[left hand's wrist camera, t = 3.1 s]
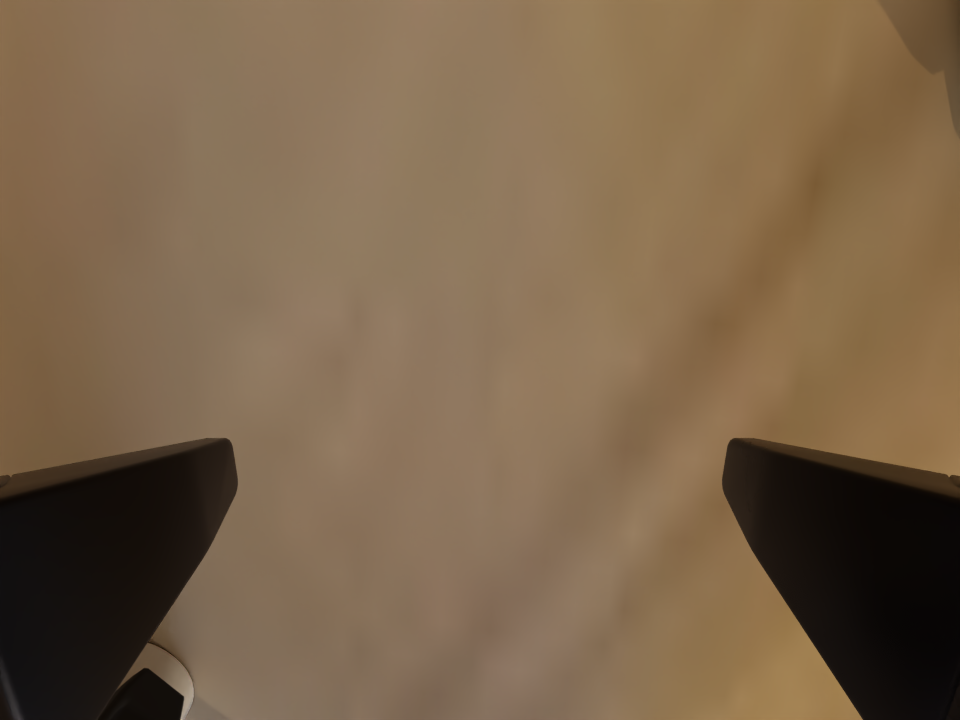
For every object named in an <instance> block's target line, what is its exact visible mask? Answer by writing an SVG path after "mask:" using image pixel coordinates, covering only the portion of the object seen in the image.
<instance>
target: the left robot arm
mask: <svg viewBox="0 0 960 720" xmlns="http://www.w3.org/2000/svg"><path fill="white" fill-rule="evenodd" d="M237 486H238V478H237V471H236V465H235V458H234V452H233V446H232V444H231V442H230V440H228V439H227V438H205V439H200V440H195V441H189V442H184V443H179V444H173V445H168V446H163V447H157V448H152V449H147V450H141V451H136V452H131V453H125V454H120V455H115V456H110V457H104V458H99V459H94V460H88V461H83V462H78V463H72V464H67V465H62V466H56V467H51V468H46V469H40V470H35V471H30V472H24V473H19V474H14V475H12V477H10V476H9V475H4V476H0V720H97V719H98V717H99V716H100V714H101V713H102V711H103V710H104V708H105V707H106V705H107V704H108V702H109V701H110V699H111V698H112V696H113V695H114V693H115V692H116V690H117V689H118V687H119V685H120V684H121V682H122V681H123V679H124V678H125V676H126V675H127V673H128V672H129V670H130V669H131V667H132V666H133V664H134V663H135V661H136V660H137V658H138V657H139V655H140V654H141V652H142V650H143V649H144V647H145V646H146V644H147V643H148V641H149V640H150V638H151V637H152V635H153V634H154V632H155V631H156V629H157V628H158V626H159V625H160V623H161V622H162V620H163V619H164V617H165V616H166V614H167V612H168V611H169V609H170V608H171V606H172V605H173V603H174V602H175V600H176V599H177V597H178V596H179V594H180V593H181V591H182V590H183V588H184V587H185V585H186V584H187V582H188V581H189V579H190V577H191V576H192V574H193V573H194V571H195V570H196V568H197V567H198V565H199V564H200V562H201V561H202V559H203V558H204V556H205V554H206V553H207V551H208V549H209V547H210V546H211V544H212V542H213V540H214V538H215V536H216V534H217V532H218V530H219V528H220V526H221V523H222V521H223V519H224V517H225V515H226V513H227V511H228V509H229V507H230V505H231V503H232V501H233V499H234V497H235V494H236V491H237ZM722 486H723V491H724V494H725V497H726V499H727V501H728V503H729V505H730V507H731V509H732V511H733V513H734V515H735V517H736V519H737V521H738V523H739V526H740V528H741V530H742V532H743V534H744V536H745V538H746V540H747V542H748V544H749V546H750V547H751V549H752V551H753V553H754V554H755V556H756V558H757V559H758V561H759V562H760V564H761V565H762V567H763V568H764V570H765V571H766V573H767V574H768V576H769V577H770V579H771V581H772V582H773V584H774V585H775V587H776V588H777V590H778V591H779V593H780V594H781V596H782V597H783V599H784V600H785V602H786V603H787V605H788V606H789V608H790V609H791V611H792V612H793V614H794V615H795V617H796V618H797V620H798V622H799V623H800V625H801V626H802V628H803V629H804V631H805V632H806V634H807V635H808V637H809V638H810V640H811V641H812V643H813V644H814V646H815V647H816V649H817V650H818V652H819V653H820V655H821V656H822V658H823V660H824V661H825V663H826V664H827V666H828V667H829V669H830V670H831V672H832V673H833V675H834V676H835V678H836V679H837V681H838V682H839V684H840V685H841V687H842V688H843V690H844V691H845V693H846V695H847V696H848V698H849V699H850V701H851V702H852V704H853V705H854V707H855V708H856V710H857V711H858V713H859V714H860V716H861V717H862V719H863V720H960V476H956V475H951V476H950V477H948V475H946V474H941V473H936V472H931V471H925V470H920V469H915V468H909V467H904V466H899V465H893V464H888V463H883V462H877V461H872V460H867V459H861V458H856V457H851V456H845V455H840V454H835V453H829V452H824V451H819V450H813V449H808V448H803V447H797V446H792V445H787V444H781V443H776V442H771V441H765V440H760V439H755V438H733V439H732V440H730V442H729V444H728V446H727V452H726V458H725V465H724V471H723V478H722Z"/></svg>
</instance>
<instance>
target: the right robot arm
mask: <svg viewBox="0 0 960 720" xmlns="http://www.w3.org/2000/svg"><path fill="white" fill-rule="evenodd" d="M183 704H184V696H183V695H182V694H180V693H179V692H178V691H176V690H175V689H174V688H173V687H171V686H170V685H169V684H168V683H166V682H165V681H164V680H163V679H161V678H160V677H159V676H158V675H156V674H155V673H154V672H152V671H151V670H150V669H149V668H143V669H142V670H140V671H139V672H137V673H136V674H135V675H133V676H132V677H131V678H130V679H128V680H127V681H126V682H125V683H124V684H123V685H121V686H120V687H119V688H118V689H117V690H116V692H115V693H114V695H113V696H112V698H111V699H110V701H109V702H108V704H107V705H106V707H105V708H104V710H103V711H102V713H101V714H100V716H99V717H98V719H97V720H180V719H181V715H182V709H183Z"/></svg>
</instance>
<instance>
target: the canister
mask: <svg viewBox="0 0 960 720" xmlns="http://www.w3.org/2000/svg"><path fill="white" fill-rule="evenodd" d="M143 668H149V669H150V670H151V671H152V672H154V673H155V674H156V675H158V676H159V677H160V678H161V679H163V680H164V681H165V682H166V683H168V684H169V685H170V686H171V687H173V688H174V689H175V690H176V691H178V692H179V693H180V694H182V695H183V696H184V704H183V709H182V715H181V719H180V720H185V718H186V716H187V714H188V712H189V710H190V707H191V705H192V703H193V698H194V688H193V683H192V680H191V677H190V675H189V673H188V672H187V670H186V669H185V667H184V666H183V665H182V664H181V663H180V662H179V661H178V660H177V659H176V658H175V657H174V656H172V655H171V654H170V653H168V652H167V651H165V650H163V649H161V648H160V647H157V646H155V645H153V644H150V643H147V644H146V646H145V647H144V649H143V650H142V652H141V654H140V655H139V657H138V658H137V660H136V661H135V663H134V664H133V666H132V667H131V669H130V670H129V672H128V673H127V675H126V676H125V678H124V679H123V681H122V682H121V684H120V685H119V687H120V686H121V685H123V684H124V683H125V682H126V681H127V680H128V679H130V678H131V677H132V676H133V675H135V674H136V673H137V672H139V671H140V670H142V669H143ZM119 687H118V688H119Z"/></svg>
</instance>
